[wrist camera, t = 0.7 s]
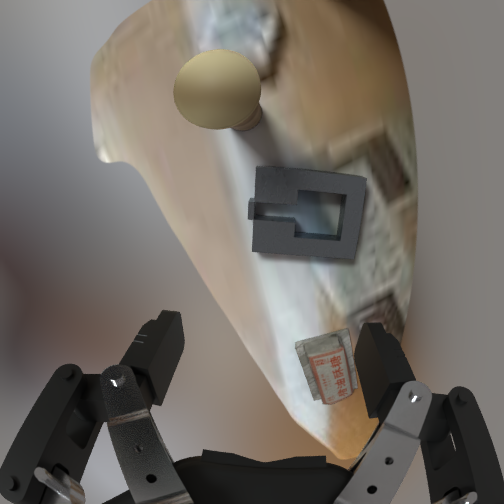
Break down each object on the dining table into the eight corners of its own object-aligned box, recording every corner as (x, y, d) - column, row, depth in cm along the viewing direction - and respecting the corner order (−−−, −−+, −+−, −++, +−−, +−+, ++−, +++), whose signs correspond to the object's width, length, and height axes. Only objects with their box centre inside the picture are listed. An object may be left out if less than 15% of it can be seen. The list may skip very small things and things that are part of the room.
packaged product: (294, 358, 42) (352, 343, 40) (293, 340, 47) (347, 325, 45) (314, 412, 48) (361, 401, 46) (313, 395, 53) (356, 384, 51)
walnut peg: (220, 91, 32) (176, 53, 16) (268, 91, 31) (261, 48, 15) (218, 135, 34) (171, 129, 18) (265, 136, 34) (257, 129, 18)
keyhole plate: (349, 252, 39) (354, 259, 37) (248, 244, 40) (246, 251, 38) (361, 176, 35) (366, 178, 32) (251, 165, 36) (250, 166, 33)
